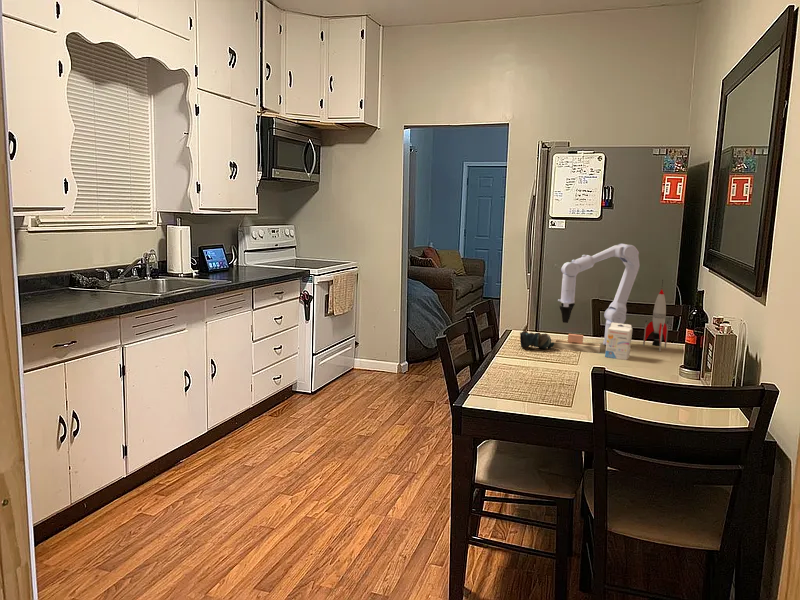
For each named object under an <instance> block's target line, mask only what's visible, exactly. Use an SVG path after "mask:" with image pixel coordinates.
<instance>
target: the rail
mask: <svg viewBox="0 0 800 600" xmlns="http://www.w3.org/2000/svg"><path fill="white" fill-rule="evenodd" d="M551 342H554V343H555V344H554V346H553V347H551V349H555V350H564V349H565V350H567V351H577V352H583V353H584V352H585V353H593V354H595V353H597V354H600V352H601V343H597V342H585V341H583V343H582V344H579V343H577V342H572V343H569V342H568V339H558V338H557V339H556V338H555V339H554V338H551Z"/></svg>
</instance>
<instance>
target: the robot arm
mask: <svg viewBox="0 0 800 600" xmlns="http://www.w3.org/2000/svg"><path fill="white" fill-rule="evenodd" d="M639 255H640V252H639V250H638V249H637V247H636V246H635V245H633V244H626V243H618V244H615V245H613V246H610V247H608V248H606V249H604V250H602V251H599V252H597V253H595V254H593V255H589V254H582V255H581V257H578V258H576V259H574V258H573V259H572V260H571V261H570V262H569V261H567V262H564V263H563V265H562V267H561V268H560V271H561V273H562V279H561V293H560V299H559V298H558V299H557V302H560V303H561V305H559V309H560V313H561V321H562V323H565V324H567V323H569V320H570V318H571V314H572V311H573V309H574V308H575V302H576V301H575V299H576V284H577V282H576V281H577V275H579V273H581V272H584V271H587V270H589V269H591V268H593V267H594V266H595V264H596V263H598V262H601V261H603V260H606V259H609V258H612V257H614V258H618V259H619V260H621V262H622V264H623V265H624V267H625V268H624V271H623V274H622V277H621V279H620V282H619V285H618V288H617V290H616V292H615V296H614V299H613V301H612V302H611V303H610V304H609V306H608V308H606V310H605V311H604V314H603V316H604V319H605V329H604V336H603V337H604V338H603V340H602V345H604V346H606V343H607V333H608V328H609V327H610V326H611V323H612V322H613V323H621V324H625V322H626V321H627V311H628V309H627V302H628V300H629V298H630V294H631V291H632V288H633V286H634V283H635V281H636V277H637V275H638V273H639V270H640V267H641V266H640V257H639ZM618 326H620V327H624V326H623V325H618Z"/></svg>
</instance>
